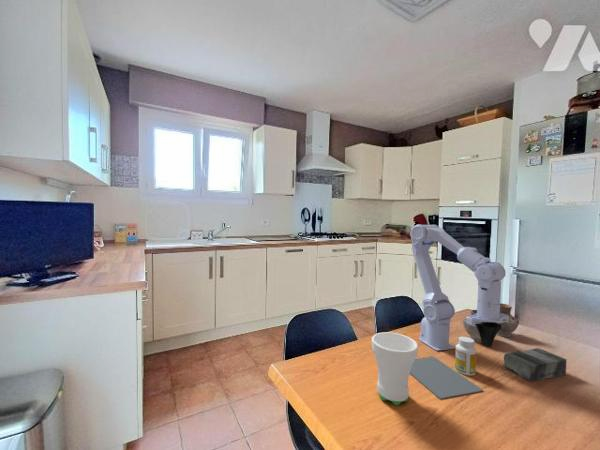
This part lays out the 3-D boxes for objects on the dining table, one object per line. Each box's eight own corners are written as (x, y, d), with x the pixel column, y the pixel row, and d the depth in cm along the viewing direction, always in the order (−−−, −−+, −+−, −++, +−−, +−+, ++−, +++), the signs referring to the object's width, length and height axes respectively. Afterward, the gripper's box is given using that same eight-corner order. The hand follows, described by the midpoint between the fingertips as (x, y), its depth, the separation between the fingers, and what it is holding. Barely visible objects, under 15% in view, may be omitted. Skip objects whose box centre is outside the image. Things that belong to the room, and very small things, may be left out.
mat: (396, 362, 86) (396, 361, 86) (433, 357, 90) (433, 356, 90) (439, 399, 69) (439, 398, 69) (483, 391, 73) (483, 390, 73)
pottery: (525, 338, 107) (526, 307, 107) (485, 349, 97) (487, 316, 96) (494, 327, 117) (495, 299, 117) (455, 336, 107) (456, 306, 107)
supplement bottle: (473, 368, 84) (474, 337, 84) (478, 377, 79) (479, 344, 79) (453, 364, 86) (454, 334, 86) (456, 373, 81) (458, 341, 80)
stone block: (499, 366, 86) (500, 349, 86) (534, 361, 90) (534, 345, 90) (529, 383, 78) (530, 364, 78) (566, 376, 81) (567, 359, 81)
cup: (411, 418, 62) (413, 356, 62) (363, 400, 68) (365, 343, 68) (419, 392, 72) (421, 338, 71) (377, 378, 78) (378, 328, 77)
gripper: (481, 307, 78) (479, 354, 79) (519, 304, 82) (517, 349, 82) (461, 300, 85) (459, 343, 85) (497, 297, 89) (495, 339, 89)
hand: (486, 345), depth 84 cm, fingers closed
